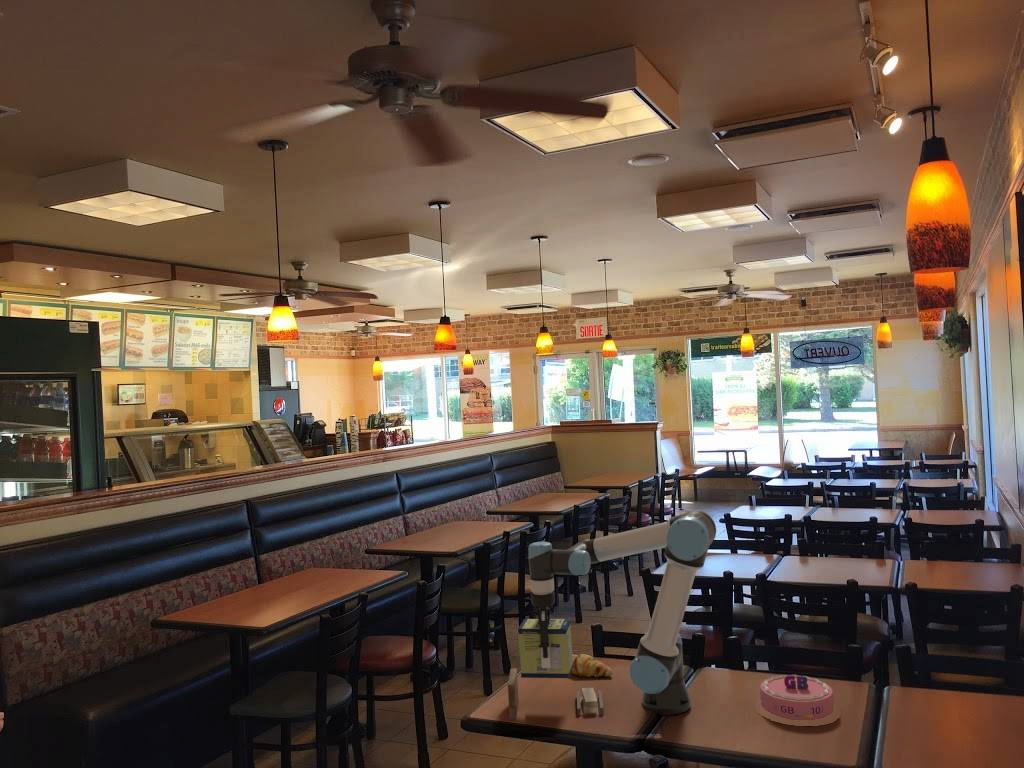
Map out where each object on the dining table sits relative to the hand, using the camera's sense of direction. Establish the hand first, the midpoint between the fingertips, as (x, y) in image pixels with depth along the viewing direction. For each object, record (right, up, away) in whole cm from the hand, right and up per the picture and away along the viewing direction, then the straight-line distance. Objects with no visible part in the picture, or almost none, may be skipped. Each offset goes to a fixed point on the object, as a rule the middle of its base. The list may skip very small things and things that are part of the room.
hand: (546, 661), depth 252 cm
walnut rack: (+4, -15, 0) cm, 16 cm away
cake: (+76, -12, -10) cm, 78 cm away
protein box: (0, -4, 0) cm, 4 cm away
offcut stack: (+14, -14, -1) cm, 19 cm away
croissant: (+15, -15, +30) cm, 37 cm away
